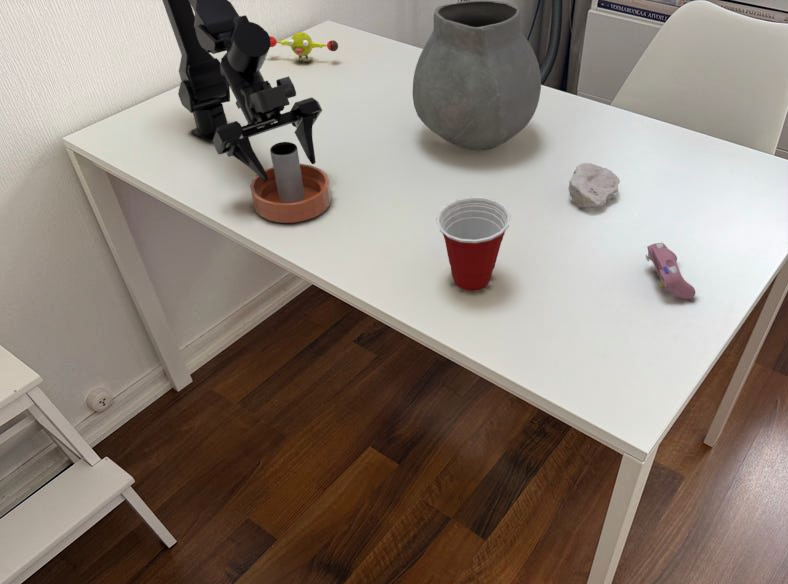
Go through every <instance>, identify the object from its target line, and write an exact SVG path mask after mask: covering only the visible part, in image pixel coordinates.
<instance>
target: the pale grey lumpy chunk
mask: <svg viewBox="0 0 788 584" xmlns="http://www.w3.org/2000/svg"><path fill="white" fill-rule="evenodd" d="M568 182H569V183H568V194H569V196H570V198H571V200H572V201H573V202H574V203H575V204H576V205H578V206H580V207H582V208H589V209H590V208H599V207H603V206H604V205H606V203H607V202H609V201H610V200H612V199H613V198H614V194H616V193H618V191H619V184H620V182H621V180H620V178H619V177H618V175H617V174H615V173H614V172H613V171H612V170H610V169H608V168H607V167H602V166H600V165H596V164H595V163H591V162H583V163H580V164H578V165H577V166H576V167H575V170H574V171H573V175H572V177H571V179H570V180H569V181H568Z"/></svg>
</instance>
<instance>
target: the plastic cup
mask: <svg viewBox="0 0 788 584" xmlns="http://www.w3.org/2000/svg"><path fill="white" fill-rule="evenodd" d="M511 217H512V215H511V213H510V212H509V209H508V207H507V206H505V205H504V204H503V203H501V202H500V201H499V200H496V199H492V198H489V197H485V196H467V197H463V198H457V199H455V200H452V201H451V202H448V203H446V204H445V205H444V206H443V207H442V208H441V209H440V210H439V211H438V213H437V217H436V221H435V222H436V225H437V227H438V230H439V232H440V233H442V235H443V238H444V242H445V243H444V244H445V248H446V252H447V258H448V263H449V266H450V272H451V277H452V281H453V282H454V285H455V286H456V287H458V288H459V289H461V290H462V291H467V292H477V291H481V290H483V289H485V288H487V286H488V285H489V283H490V282H491V280H492V279H491V277H492V274H493V272H494V269H495V268H496V267H495V266H496V263H497V259H498V255H499V252H500V248H501V245H502V242H503V239H504V236H505V233H506V231H507V229H508V228H509V226H510V223H511V222H510V221H511Z"/></svg>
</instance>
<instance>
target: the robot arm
mask: <svg viewBox="0 0 788 584" xmlns="http://www.w3.org/2000/svg"><path fill="white" fill-rule="evenodd" d="M162 4H163V6H164V9H165V12H166V14H167V18H168V20H169V23H170V26H171V29H172V32H173V35H174V37H175V38H174V39H175V41H176V43H177V45H178V49H179V51H180V52H179V53H180V56H181V58H180V62H179V67H178V74H179V77H180V80H181V81H180V83H179V89H178V93H177V95H178V98H179V101H180V103H181V105H182V106H183V108H184V109H186V110H187V111H188V112H189V113H190V114H192V115H193V120H194V123H195V126H196V127H195V128H194V129H191V130H190V132H191V134H192V135H194V136H196V137H199V138H201V139H203V140H205V141H208V142H211V143H212V144H213V147H214V148H215V151H216V153H217V155H223V154H226V155H227V157H228V158H230V157H234V158H235V159H237V160H238V161H240V162H241V163H242V164H243V165H245V166H247V167H248V168H249V169H250V170H251V171H253V172H254V173H255V174H256V176H257V175H258V176H259V177H261V178H262V179H263V180H264V181H265V182H266V181H268V177H267V174H266V172H265V170H266V169H265V168H264V167H263V165H262V163H261V161H260V160H259V157H258V156H257V154H256V153H255V151H254V150H253V147H252V144H251V141H250V138H251V137H253V136H254V137H255V136H258V135H261V134H264V133H266V132H269V131H272V130H275V129H279V128H282V127H284V126H288V125H290V124H291V125H292V127H294V128H295V130H294V134H295V136H296V138H297V141H298V142H299V144H300V146H301V148H302V150H303V153H304V154H305V156H306V157H307V159H308V161H309V162H310V165H315V164H316V154H315V147H314V141H313V127H314V126H313V125H314V124H315V123H316V121H317V120H318V118H319V116H320V115H321V113H322V112H323V109H322V106H321V104H320V103H319V101H318V100H316V98H314V97H309V98H305V99H302V100H299V101H296V102H294V103H293V105H292V107H291V109H290V110H289V111H287V112H286V111H285V112H283V111H284V109H285V107H286V106H289V105H290V101H289V99H291V98H295V97H297V91H296V89H295V85H294V83H293V81H292V79H291V77H290V76H286V77H285V76H284V77H282V78H278V79H277V80H276V81H275V83H276V86H272V85H271V83H270V82H269V80H265V78H264V76H263V74H262V73H261V69H262V67H263V65H264V63H265V60H266V58H267V56H268V53H269V51H270V48H271V47H270V44H271V43H270V37H269V36H270V35H269V33H268V32H267V30H265V29H264V28H263V27H262V26H261V25H259V24H257V23H256V22H253V21H249V19H248V16H247V15H246V14H244V15H239V13H238V12H237V10H236V9H235V7H234V5H233V4H232V2H231V1H230V0H162ZM223 52H225V54H223V56H222V57H221V59H220V60H221V61H220V60H219V59H218V58H217V57H215V56H213V55H215V54H220V53H223ZM230 91H231V92H232V94H233V97H234V98H235V100H236V101H235V106H236V107H237V109H240V110H241V112H242V114H243V116H244V118H245V120H246V122H247V124H246V125H243V126H242V124H241V123H240V122H239V121H237V120H235V121H232V122H228V120H227V114H226V113H225V108H224V105H223V104H224V103H229V102H231V92H230ZM281 112H283V113H281Z"/></svg>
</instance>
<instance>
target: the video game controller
mask: <svg viewBox="0 0 788 584" xmlns="http://www.w3.org/2000/svg"><path fill="white" fill-rule="evenodd" d="M646 249H647V253H645V260H646V261H648V262H650V261H651V262H652V263H653V266H654V268H655V269H654V270H655V271H656V274H657V276H658V278H659V279H660V281H661V282H659V283H660V286H661V287H662V288H664V290H665V291H666V292H667V291H668V292H670V293H671V294H673V295H674V296H675V297H677V298H679V299H682V300H691V299H693V298H694V297H695V296H696V289H695V287H694V286H693V285H692V284H690V283H689V282H688V281H686V280H685V279H684V277H683V275H682V274H681V273H682V272H681V270H680V268H679V266H678V264H677V261H678V256H677V255H676V253H674V252H673V251H672V250H670V249H669V248H668V246H667V245H666V244H664V243H663V242H662V241H661V242H656V243H652V244H650V245H647V247H646Z"/></svg>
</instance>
